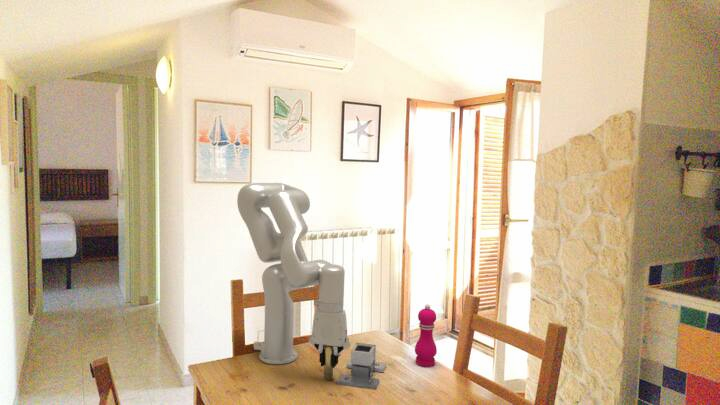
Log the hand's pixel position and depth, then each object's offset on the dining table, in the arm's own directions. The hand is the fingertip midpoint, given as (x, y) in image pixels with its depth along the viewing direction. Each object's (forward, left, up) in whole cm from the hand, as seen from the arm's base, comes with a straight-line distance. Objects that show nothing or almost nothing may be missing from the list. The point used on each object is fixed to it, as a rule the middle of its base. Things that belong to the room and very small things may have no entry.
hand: (328, 364), depth 149 cm
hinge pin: (0, 0, -4) cm, 4 cm away
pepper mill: (+27, +21, -5) cm, 35 cm away
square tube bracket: (+9, +8, -4) cm, 13 cm away
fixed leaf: (+9, +3, -4) cm, 11 cm away
